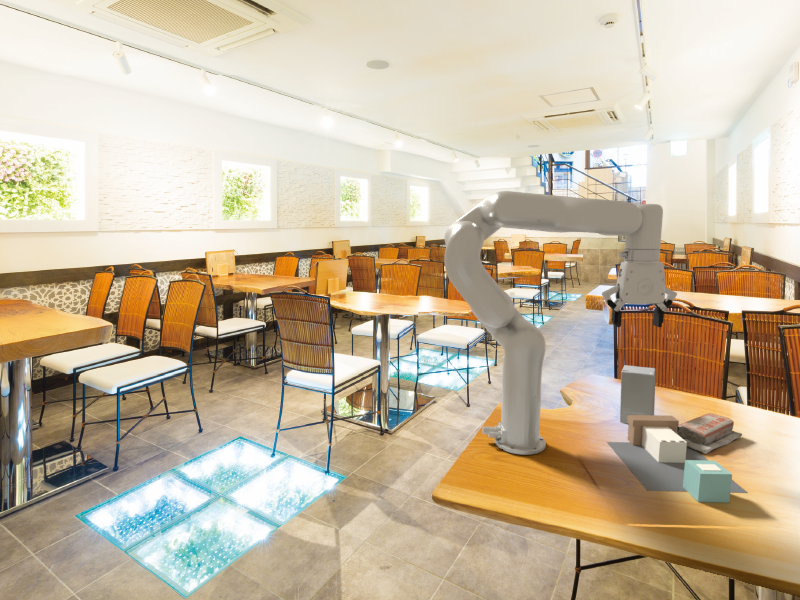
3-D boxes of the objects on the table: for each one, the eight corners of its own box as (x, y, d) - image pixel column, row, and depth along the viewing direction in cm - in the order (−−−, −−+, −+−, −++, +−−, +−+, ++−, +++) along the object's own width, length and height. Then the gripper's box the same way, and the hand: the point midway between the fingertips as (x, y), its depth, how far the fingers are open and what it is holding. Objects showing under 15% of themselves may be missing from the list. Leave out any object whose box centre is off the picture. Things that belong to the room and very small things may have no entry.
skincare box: (653, 421, 130) (658, 367, 127) (651, 431, 124) (656, 374, 121) (620, 415, 134) (624, 363, 132) (617, 424, 128) (621, 369, 126)
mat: (647, 492, 95) (647, 490, 95) (606, 443, 117) (606, 441, 117) (747, 494, 94) (747, 492, 94) (687, 444, 116) (687, 443, 116)
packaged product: (701, 408, 126) (743, 420, 118) (700, 425, 127) (742, 438, 119) (665, 422, 117) (707, 436, 109) (664, 440, 118) (706, 455, 109)
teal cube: (697, 501, 91) (700, 473, 90) (682, 486, 96) (685, 459, 95) (729, 502, 91) (732, 473, 90) (712, 487, 96) (715, 460, 95)
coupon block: (647, 462, 107) (649, 435, 106) (625, 438, 118) (626, 414, 117) (696, 462, 106) (698, 435, 105) (669, 439, 118) (671, 415, 117)
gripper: (611, 257, 107) (606, 329, 110) (687, 257, 106) (681, 329, 109) (599, 255, 114) (595, 323, 117) (670, 255, 113) (665, 323, 116)
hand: (636, 326), depth 113 cm, fingers open, 9 cm apart
